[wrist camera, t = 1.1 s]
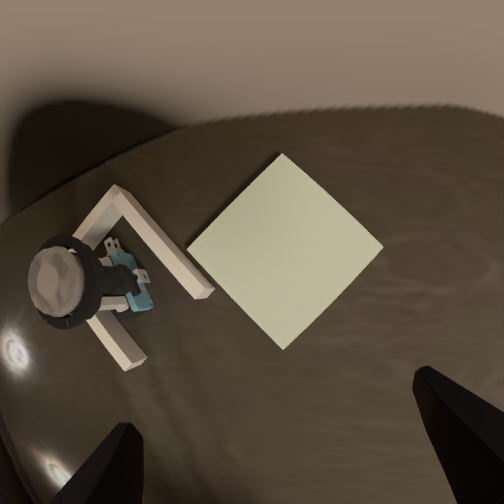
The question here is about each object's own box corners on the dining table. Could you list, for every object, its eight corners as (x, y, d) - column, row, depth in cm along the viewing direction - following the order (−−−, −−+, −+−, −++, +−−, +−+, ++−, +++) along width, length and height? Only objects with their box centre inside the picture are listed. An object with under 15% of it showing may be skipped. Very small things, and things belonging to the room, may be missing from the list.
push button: (95, 256, 25) (8, 240, 15) (142, 225, 25) (60, 192, 15) (123, 328, 24) (36, 343, 14) (175, 301, 23) (95, 308, 14)
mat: (283, 348, 22) (282, 350, 21) (188, 250, 24) (186, 249, 23) (381, 248, 21) (383, 246, 21) (282, 155, 23) (282, 153, 23)
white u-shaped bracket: (140, 364, 23) (124, 371, 21) (69, 267, 25) (51, 265, 23) (215, 288, 23) (205, 288, 21) (129, 192, 25) (114, 184, 23)
